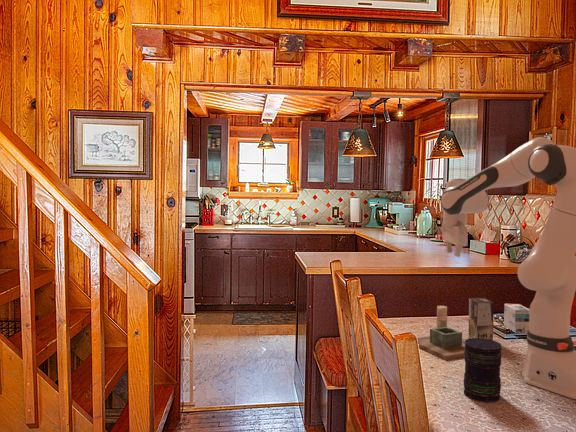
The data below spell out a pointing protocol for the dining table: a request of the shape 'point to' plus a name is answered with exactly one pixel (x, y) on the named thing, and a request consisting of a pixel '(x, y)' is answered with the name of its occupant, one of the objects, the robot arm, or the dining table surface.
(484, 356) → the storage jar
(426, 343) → the holder
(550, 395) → the dining table surface
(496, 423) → the dining table surface
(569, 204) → the robot arm
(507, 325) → the light bulb box
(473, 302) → the coffee box
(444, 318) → the peg
